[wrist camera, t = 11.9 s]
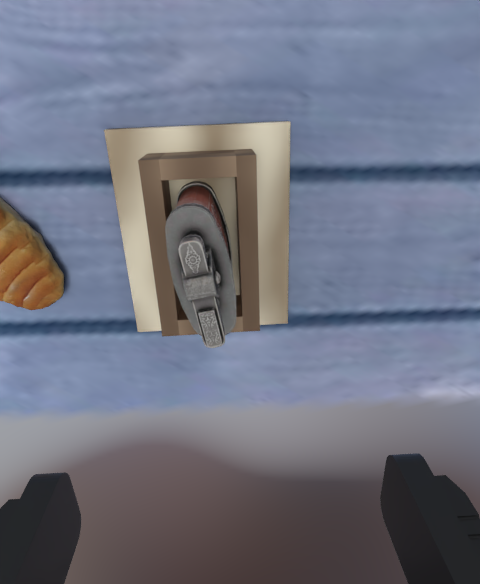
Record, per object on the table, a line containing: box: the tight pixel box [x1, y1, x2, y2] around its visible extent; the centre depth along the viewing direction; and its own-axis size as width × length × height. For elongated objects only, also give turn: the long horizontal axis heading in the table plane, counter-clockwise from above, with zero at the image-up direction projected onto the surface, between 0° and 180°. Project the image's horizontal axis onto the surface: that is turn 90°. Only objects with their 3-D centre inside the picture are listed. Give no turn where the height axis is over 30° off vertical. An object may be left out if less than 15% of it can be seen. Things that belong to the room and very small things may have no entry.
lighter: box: [165, 181, 236, 348], centre depth 25 cm, size 8×3×10 cm, turn 11°
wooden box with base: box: [104, 121, 290, 336], centre depth 28 cm, size 12×15×5 cm
